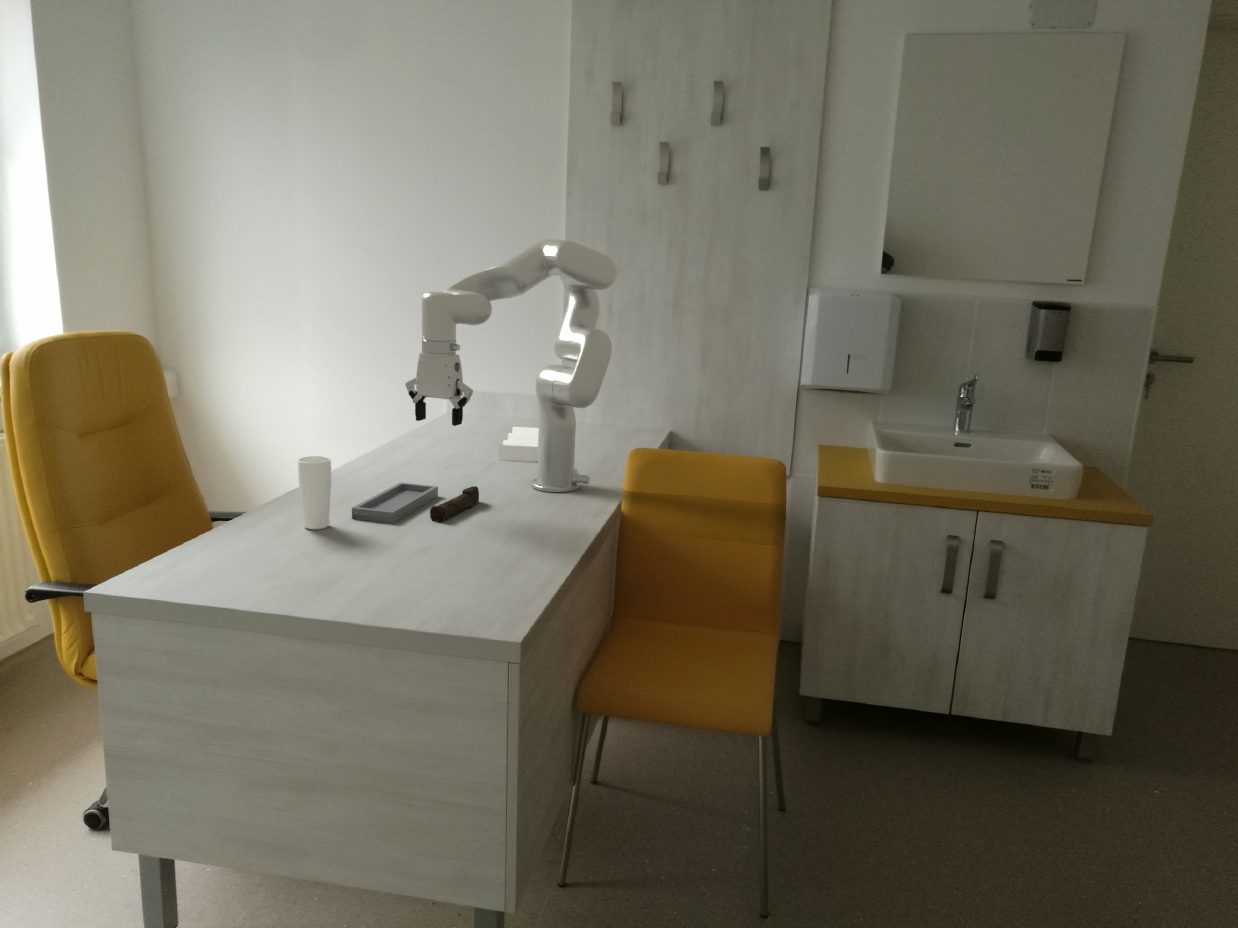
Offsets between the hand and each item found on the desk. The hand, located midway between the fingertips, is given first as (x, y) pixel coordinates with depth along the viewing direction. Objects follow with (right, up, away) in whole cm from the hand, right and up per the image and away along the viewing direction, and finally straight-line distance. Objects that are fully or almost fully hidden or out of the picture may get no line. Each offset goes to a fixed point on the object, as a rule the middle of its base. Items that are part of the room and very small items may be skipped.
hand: (438, 422), depth 215 cm
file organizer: (+14, -6, +72) cm, 73 cm away
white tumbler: (-24, -23, -12) cm, 36 cm away
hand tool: (+3, -21, +4) cm, 22 cm away
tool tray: (-11, -20, +5) cm, 23 cm away
